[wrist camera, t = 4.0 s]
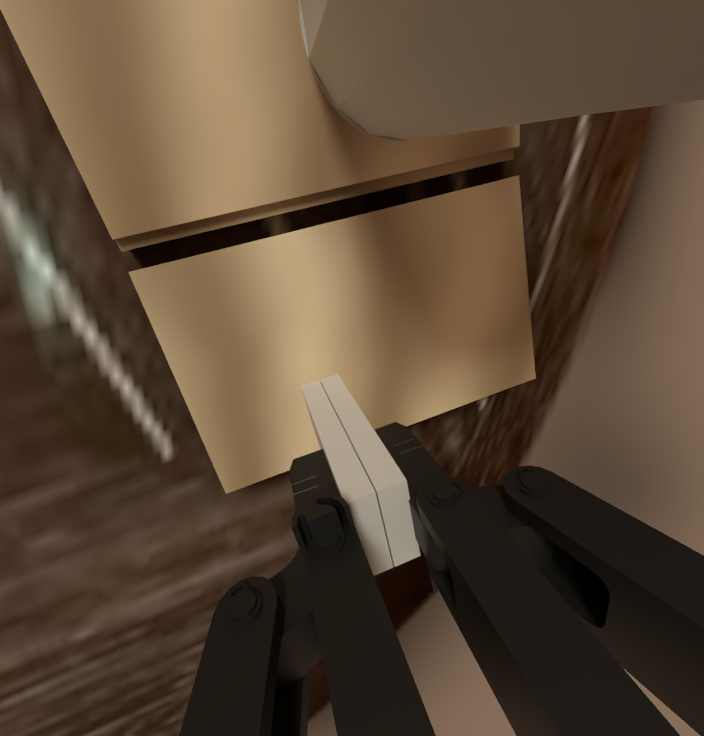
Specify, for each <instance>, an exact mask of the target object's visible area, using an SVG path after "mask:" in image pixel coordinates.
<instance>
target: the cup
mask: <svg viewBox="0 0 704 736" xmlns="http://www.w3.org/2000/svg"><path fill="white" fill-rule="evenodd" d="M299 16H300V25H301V32H302V37H303V42H304V46H305V50H306V53H307V57H308V60H309V63H310V65H311V68H312V71H313V73H314V75H315V77H316V80H317V81H318V83H319V85H320V87H321V89H322V91H323V92H324V94H325V96H326V97H327V99H328V100H329V101H330V103H331V104H332V105H333V107H334V108H335V109H336V110H337V111H338V112H339V114H340V115H341V116H342V117H343V118H344V119H346V120H347V121H348V122H349V123H350V124H351V125H353V126H354V127H356V128H357V129H358V130H360V131H362V132H364V133H365V134H368V135H370V136H372V137H375V138H378V139H381V140H386V141H394V142H402V141H410V140H416V139H423V138H430V137H437V136H443V135H450V134H457V133H464V132H471V131H478V130H485V129H491V128H498V127H505V126H512V125H519V124H526V123H533V122H539V121H546V120H553V119H560V118H567V117H574V116H581V115H587V114H595V113H603V112H611V111H619V110H626V109H634V108H642V107H650V106H658V105H666V104H674V103H681V102H690V101H697V100H704V0H299Z"/></svg>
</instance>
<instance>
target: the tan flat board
mask: <svg viewBox="0 0 704 736" xmlns="http://www.w3.org/2000/svg"><path fill="white" fill-rule="evenodd" d="M0 9H1V11H2V13H3V15H4V17H5V20H6V22H7V24H8V26H9V28H10V30H11V32H12V34H13V36H14V38H15V40H16V42H17V44H18V46H19V48H20V50H21V52H22V54H23V57H24V59H25V61H26V63H27V65H28V67H29V69H30V71H31V73H32V75H33V77H34V79H35V81H36V83H37V85H38V87H39V89H40V91H41V94H42V96H43V98H44V100H45V102H46V104H47V106H48V108H49V110H50V112H51V114H52V116H53V118H54V120H55V122H56V124H57V126H58V129H59V131H60V133H61V135H62V137H63V139H64V141H65V143H66V145H67V147H68V149H69V151H70V153H71V155H72V157H73V159H74V161H75V163H76V166H77V168H78V170H79V172H80V174H81V176H82V178H83V180H84V182H85V184H86V186H87V188H88V190H89V192H90V194H91V196H92V198H93V200H94V203H95V205H96V207H97V209H98V211H99V213H100V215H101V217H102V219H103V221H104V223H105V225H106V227H107V229H108V231H109V233H110V235H111V237H112V240H113V239H116V242H117V244H118V246H119V248H120V250H121V252H122V251H127V250H131V249H135V248H139V247H143V246H148V245H152V244H156V243H160V242H165V241H169V240H173V239H177V238H181V237H186V236H190V235H194V234H198V233H203V232H207V231H211V230H215V229H219V228H224V227H228V226H232V225H236V224H241V223H245V222H249V221H253V220H257V219H262V218H266V217H270V216H274V215H278V214H283V213H287V212H291V211H295V210H300V209H304V208H308V207H312V206H316V205H321V204H325V203H329V202H333V201H338V200H342V199H346V198H350V197H354V196H359V195H363V194H367V193H371V192H376V191H380V190H384V189H388V188H392V187H397V186H401V185H405V184H409V183H414V182H418V181H422V180H426V179H430V178H435V177H439V176H443V175H447V174H451V173H456V172H460V171H464V170H468V169H473V168H477V167H481V166H485V165H489V164H494V163H498V162H502V161H506V160H511V159H514V147H517V146H519V135H520V124H519V125H512V126H505V127H498V128H491V129H485V130H478V131H471V132H464V133H457V134H450V135H443V136H437V137H430V138H423V139H416V140H410V141H402V142H394V141H386V140H381V139H378V138H375V137H372V136H370V135H368V134H365V133H364V132H362V131H360V130H358V129H357V128H356V127H354V126H353V125H351V124H350V123H349V122H348V121H347V120H346V119H344V118H343V117H342V116H341V115H340V114H339V112H338V111H337V110H336V109H335V108H334V107H333V105H332V104H331V103H330V101H329V100H328V99H327V97H326V96H325V94H324V92H323V91H322V89H321V87H320V85H319V83H318V81H317V80H316V77H315V75H314V73H313V71H312V68H311V65H310V63H309V60H308V57H307V53H306V50H305V46H304V42H303V37H302V32H301V25H300V16H299V0H0Z"/></svg>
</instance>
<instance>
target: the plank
mask: <svg viewBox="0 0 704 736" xmlns="http://www.w3.org/2000/svg"><path fill="white" fill-rule="evenodd" d="M129 274H130V277H131V279H132V281H133V284H134V286H135V288H136V290H137V293H138V295H139V297H140V299H141V302H142V304H143V306H144V309H145V311H146V313H147V315H148V318H149V320H150V322H151V324H152V327H153V329H154V331H155V334H156V336H157V338H158V340H159V343H160V345H161V347H162V350H163V352H164V354H165V356H166V359H167V361H168V363H169V365H170V368H171V370H172V372H173V375H174V377H175V379H176V381H177V384H178V386H179V388H180V390H181V393H182V395H183V397H184V400H185V402H186V404H187V406H188V409H189V411H190V413H191V415H192V418H193V420H194V422H195V425H196V427H197V429H198V431H199V434H200V436H201V438H202V440H203V443H204V445H205V447H206V450H207V452H208V454H209V456H210V459H211V461H212V463H213V465H214V468H215V470H216V472H217V475H218V477H219V479H220V481H221V484H222V486H223V488H224V490H225V493H226V494H227V493H230V492H232V491H235V490H238V489H240V488H243V487H246V486H248V485H251V484H254V483H256V482H259V481H262V480H264V479H267V478H270V477H272V476H275V475H278V474H281V473H283V472H286V471H289V470H290V467H291V464H292V461H293V459H296V458H298V457H301V456H304V455H307V454H310V453H313V452H315V451H318V450H321V449H320V447H319V444H318V441H317V438H316V434H315V431H314V428H313V425H312V421H311V418H310V415H309V412H308V408H307V405H306V402H305V399H304V395H303V392H302V389H301V386H302V385H305V384H308V383H312V382H315V381H318V380H319V381H320V380H321V379H324V378H327V377H330V376H334V375H337V374H338V375H339V376H340V378H341V379H342V381H343V383H344V384H345V386H346V387H347V389H348V390H349V392H350V393H351V395H352V396H353V398H354V400H355V401H356V403H357V404H358V406H359V407H360V409H361V410H362V412H363V413H364V415H365V417H366V418H367V420H368V421H369V423H370V424H371V426H372V427H373V429H377V428H380V427H383V426H385V425H388V424H391V423H394V422H397V423H399V424H402V425H404V426H409V425H412V424H414V423H417V422H420V421H423V420H425V419H428V418H431V417H433V416H436V415H439V414H441V413H444V412H447V411H449V410H452V409H455V408H457V407H460V406H463V405H465V404H468V403H471V402H473V401H476V400H479V399H481V398H484V397H487V396H489V395H492V394H495V393H498V392H500V391H503V390H506V389H508V388H511V387H514V386H516V385H519V384H522V383H524V382H527V381H530V380H532V379H535V378H536V376H535V364H534V352H533V340H532V328H531V316H530V304H529V292H528V280H527V268H526V256H525V244H524V231H523V219H522V207H521V195H520V183H519V176H515V177H511V178H507V179H503V180H498V181H494V182H490V183H486V184H482V185H478V186H474V187H470V188H466V189H462V190H458V191H454V192H450V193H446V194H442V195H438V196H434V197H430V198H426V199H422V200H418V201H414V202H410V203H406V204H402V205H398V206H394V207H389V208H385V209H381V210H377V211H373V212H369V213H365V214H361V215H357V216H353V217H349V218H345V219H341V220H337V221H333V222H329V223H325V224H321V225H317V226H313V227H309V228H305V229H301V230H297V231H293V232H289V233H285V234H281V235H276V236H272V237H268V238H264V239H260V240H256V241H252V242H248V243H244V244H240V245H236V246H232V247H228V248H224V249H220V250H216V251H212V252H208V253H204V254H200V255H196V256H192V257H188V258H184V259H180V260H176V261H172V262H167V263H163V264H159V265H155V266H151V267H147V268H143V269H139V270H135V271H131V272H129ZM320 383H321V382H320Z"/></svg>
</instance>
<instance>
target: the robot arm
mask: <svg viewBox="0 0 704 736" xmlns="http://www.w3.org/2000/svg"><path fill="white" fill-rule="evenodd" d="M320 382H321V383H320ZM301 389H302V392H303V395H304V399H305V402H306V405H307V408H308V412H309V415H310V418H311V421H312V425H313V428H314V431H315V434H316V438H317V441H318V444H319V447H320V449H321V450H318V451H315V452H313V453H310V454H307V455H304V456H301V457H298V458H296V459H293V461H292V464H291V467H290V470H289V475H290V480H291V484H292V490H293V494H294V500H295V505H296V512H295V514H294V516H293V518H292V530H293V532H294V535H295V537H296V540H297V542H298V545H299V547H300V548H299V550H298V552H297V554H296V556H295V557H294V558H293V560H292V561H291V562H290V563H289V564H288V565H287V566H286V567H285V568H284V569H283V570H281V571H280V572H279V573H278V574H276V575H275V576H274V577H272V578H271V579H270V580H268V579H266V578H264V577H250V578H247V579H244V580H241V581H239V582H238V583H237V584H235V585H234V586H233V587H231V588H230V589H229V590H228V591H227V592H226V593H225V595H224V596H223V597H222V598H221V600H220V601H219V603H218V605H217V608H216V610H215V612H214V615H213V618H212V622H211V625H210V629H209V632H208V636H207V639H206V643H205V647H204V650H203V654H202V657H201V661H200V664H199V668H198V671H197V675H196V678H195V682H194V686H193V689H192V693H191V696H190V700H189V703H188V707H187V710H186V714H185V718H184V721H183V725H182V728H181V732H180V735H179V736H307V727H308V704H309V681H310V669H311V668H312V667H313V666H314V665H315V664H316V663H317V662H318V661H319V660H320V659H321V658H322V659H323V664H324V669H325V674H326V679H327V684H328V689H329V694H330V700H331V705H332V709H333V715H334V720H335V725H336V730H337V735H338V736H435V733H434V730H433V728H432V725H431V723H430V720H429V718H428V715H427V712H426V710H425V707H424V704H423V702H422V699H421V697H420V694H419V691H418V689H417V686H416V684H415V681H414V679H413V676H412V674H411V671H410V668H409V666H408V663H407V660H406V658H405V655H404V653H403V650H402V648H401V645H400V643H399V640H398V637H397V635H396V632H395V629H394V627H393V624H392V622H391V619H390V616H389V614H388V611H387V609H386V606H385V604H384V601H383V598H382V596H381V593H380V591H379V588H378V585H377V583H376V580H375V578H374V576H375V575H377V574H379V573H382V572H384V571H386V570H389V569H391V568H393V564H394V567H396V566H398V565H400V564H403V563H405V562H407V561H410V560H412V559H414V558H417V557H419V556H420V550H419V546H420V548H421V549H422V551H423V553H424V555H425V557H426V558H427V563H428V569H429V575H430V581H431V586H432V589H433V592H434V593H436V592H438V591H437V588H438V590H439V591H440V593H441V595H442V597H443V599H444V601H445V603H446V605H447V606H448V608H449V610H450V612H451V614H452V616H453V618H454V619H455V621H456V623H457V625H458V627H459V629H460V631H461V633H462V634H463V636H464V638H465V640H466V642H467V644H468V646H469V647H470V649H471V651H472V653H473V655H474V657H475V659H476V661H477V663H478V664H479V666H480V668H481V670H482V672H483V674H484V676H485V678H486V679H487V681H488V683H489V685H490V687H491V689H492V690H493V693H494V694H495V696H496V698H497V700H498V702H499V704H500V706H501V707H502V709H503V711H504V713H505V715H506V717H507V719H508V721H509V722H510V724H511V726H512V728H513V730H514V732H515V734H516V735H517V736H680V735H679V734H678V733H677V731H676V730H675V729H674V728H673V727H672V726H671V725H670V723H669V722H668V721H667V720H666V718H665V717H664V716H663V715H662V714H661V713H660V711H659V710H658V709H657V708H656V707H655V706H654V704H653V703H652V702H651V701H650V700H649V699H648V697H647V696H646V695H645V694H644V693H643V692H642V690H641V689H640V688H639V687H638V686H637V684H636V683H635V682H634V681H633V680H632V679H631V678H630V676H629V675H628V674H627V673H626V672H625V670H626V671H627V672H629V673H630V674H631V675H632V676H633V677H634V678H635V679H637V680H638V681H639V682H640V683H641V684H642V685H643V686H645V687H646V688H647V689H648V690H649V691H650V692H651V693H653V694H654V695H655V696H656V697H657V698H658V699H660V700H661V701H662V702H663V703H664V704H665V705H666V706H667V707H669V708H670V709H671V710H672V711H673V712H674V713H675V714H677V715H678V716H679V717H680V718H681V719H682V720H684V721H685V722H686V723H687V724H688V725H689V726H690V727H691V728H693V729H694V730H695V731H696V732H697V733H698V734H699V735H701V736H704V556H703V555H701V554H700V553H698V552H696V551H694V550H692V549H690V548H689V547H687V546H685V545H683V544H681V543H680V542H678V541H676V540H674V539H672V538H671V537H669V536H667V535H665V534H663V533H662V532H660V531H658V530H656V529H654V528H652V527H650V526H649V525H647V524H645V523H643V522H641V521H640V520H637V519H636V518H634V517H633V516H631V515H629V514H627V513H625V512H623V511H621V510H620V509H618V508H616V507H614V506H613V505H611V504H609V503H607V502H605V501H604V500H602V499H600V498H598V497H596V496H594V495H593V494H591V493H589V492H587V491H585V490H584V489H582V488H580V487H578V486H576V485H575V484H573V483H571V482H569V481H567V480H566V479H564V478H562V477H560V476H558V475H556V474H555V473H553V472H551V471H548V470H546V469H543V468H541V467H534V466H521V467H516V468H514V469H512V470H510V471H509V472H508V473H507V474H506V475H505V476H504V481H503V484H501V485H492V486H483V487H472V486H467V485H466V484H465V483H463V482H462V481H461V480H459V479H456V478H454V477H451V476H447V475H446V473H445V472H444V471H443V470H442V468H441V467H440V466H439V465H438V464H437V462H436V461H435V460H434V459H433V458H432V456H431V455H430V454H429V453H428V451H427V450H426V449H425V448H424V447H423V446H422V444H421V443H420V442H419V440H418V439H416V437H415V436H414V434H413V433H412V432H411V431H410V429H409V428H408V427H406V426H404V425H402V424H399V423H397V422H394V423H391V424H388V425H385V426H383V427H380V428H377V429H373V427H372V426H371V424H370V423H369V421H368V420H367V418H366V417H365V415H364V413H363V412H362V410H361V409H360V407H359V406H358V404H357V403H356V401H355V400H354V398H353V396H352V395H351V393H350V392H349V390H348V389H347V387H346V386H345V384H344V383H343V381H342V379H341V378H340V376H339V375H338V374H337V375H334V376H330V377H327V378H324V379H321V380H320V381H319V380H318V381H315V382H312V383H308V384H305V385H302V386H301ZM418 544H419V545H418ZM392 562H393V564H392ZM620 665H621V666H622V667H623V668H624V669H625V670H624V669H623V668H622V667H621V666H620Z"/></svg>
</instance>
